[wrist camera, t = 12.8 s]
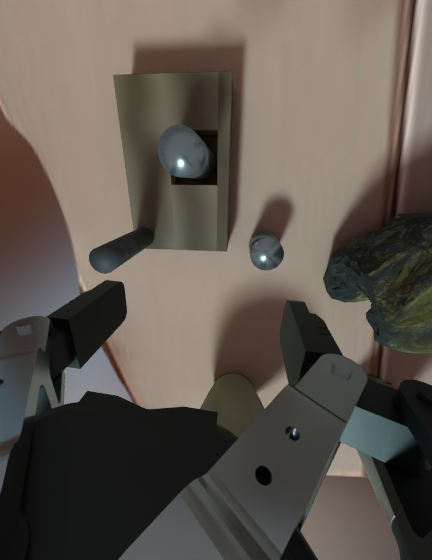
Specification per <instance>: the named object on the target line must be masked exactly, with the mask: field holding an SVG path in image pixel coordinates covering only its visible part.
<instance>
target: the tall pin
mask: <svg viewBox="0 0 432 560" xmlns="http://www.w3.org/2000/svg"><path fill="white" fill-rule="evenodd" d="M158 157H159V160H160V162H161V164H162V166H163V168H164V169H165V170H166V171H167V172H168V173H170V174H171V175H173V176H176V177H184V178H196V179H202V178H205V177H207V176H208V175H209V174H210V173H211V172H212V170H213V168H214V163H215V160H214V155H213V153H212V151H211V150H210V148H209V147H208V146H207V145H206V144H205V143H204V142H203V140H202V139H201V138H200V137H199V136H198V135H197V134H196V133H195V132H194V131H193V130H192V129H191V128H189V127H187V126H184V125H174V126H171V127H169V128H168V129H166V130H165V131H164V132H163V134H162V135H161V137H160V139H159V143H158Z"/></svg>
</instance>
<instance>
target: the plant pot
mask: <svg viewBox="0 0 432 560" xmlns="http://www.w3.org/2000/svg"><path fill="white" fill-rule="evenodd" d="M200 409H202V410H208V411H214V412H218V418H217V424H218V425H220V426H222V427H224V428H226V429H227V430H229V431H231V432H232V433H233V434H234V435H236V436H237V437H238V438H239V437H240V436H241V435H242V434H243V433H244V432H245V430H246V429H247V428H248V427H249V426H250V425H251V424H252V423H253V422H254V420H255V419H256V418H257V417H258V416H259V415H260V414H261V413H262V412H263V410H264V407H263V405H262V403H261V401H260V399H259V396H258V395H257V393H256V391H255V389H254V387H253V385H252V384H251V382H250V381H249V380H248V379H247V378H246V377H244V376H242V375H239V374H225V375H223V376H221V377H219V378H218V379H217V380H216V382H215V383H214V385H213V386H212V388H211V390H210V391H209V393H208V395H207V397H206V398H205V400H204V402H203V404H202V406H201V408H200Z"/></svg>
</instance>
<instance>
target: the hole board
mask: <svg viewBox="0 0 432 560" xmlns="http://www.w3.org/2000/svg"><path fill="white" fill-rule="evenodd" d="M113 78H114V85H115V93H116V100H117V108H118V116H119V123H120V131H121V138H122V146H123V153H124V161H125V168H126V176H127V183H128V191H129V198H130V206H131V214H132V221H133V229H134V231H132V232H130V233H128V234H126V235H123V236H121V237H119V238H117V239H115V240H113V241H110V242H108V243H106V244H104V245H102V246H99V247H97V248H95V249H93V250H92V251H91V252H90V255H89V261H90V264H91V266H92V267H93V268H94V269H95V270H96V271H98V272H100V273H104V274H106V273H110V272H112V271H113V270H114V269H116V268H117V267H119V266H120V265H122V264H123V263H125V262H126V261H127V260H129V259H130V258H132V257H133V256H135V255H136V254H137V253H139V252H140V251H142V250H143V249H145V248H146V249H173V250H201V251H227V247H228V231H229V199H230V167H231V135H232V104H233V80H232V71H225V72H192V73H159V74H125V75H113ZM174 125H184V126H187V127H189V128H191V129H192V130H193V131H194V132H195V133H196V134H197V135H198V136H199V137H218V162H217V185H182V184H179V177H176V176H173V175H171V174H170V173H168V172H167V171H166V170H165V169H164V168H163V166H162V164H161V162H160V160H159V157H158V143H159V139H160V137H161V135H162V134H163V132H164V131H165V130H166V129H168V128H169V127H171V126H174Z"/></svg>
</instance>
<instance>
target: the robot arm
mask: <svg viewBox="0 0 432 560" xmlns="http://www.w3.org/2000/svg"><path fill="white" fill-rule="evenodd" d="M126 314H127V306H126V297H125V288H124V284H123V283H122V282H118V281H109V280H106V281H104V282H102V283H101V284H99V285H98V286H96V287H95V288H93V289H92V290H89V291H86V292H84V293H82V294H81V295H79V296H78V297H76V299H73V300H72V301H70V302H69V304H68V303H67V304H65V305H64V306H63V307H61V308H59V309H58V310H56V311H55V312H53V313H52V314H50V315H49V316H47V317H44V316H32V317H27V318H23V319H20V320H17V321H14V322H13V323H10V324H9V325H7V326H6V327H5V328H4V329H3V330H2V331H0V560H318V559H317V557H316V556H315V554H314V553H313V551H312V549H311V548H310V546H309V544H308V543H307V541H306V540H305V538H304V536H303V535H302V533H301V528H302V526H303V524H304V522H305V520H306V518H307V515H308V513H309V511H310V509H311V506H312V504H313V502H314V500H315V498H316V495H317V493H318V491H319V489H320V487H321V484H322V482H323V480H324V478H325V476H326V474H327V472H328V469H329V467H330V465H331V463H332V461H333V459H334V457H335V455H336V452H337V450H338V448H339V446H340V444H341V442H342V443H344V444H346V445H348V446H350V447H352V448H355V449H357V452H358V454H359V456H360V459H361V461H362V463H363V465H364V468H365V470H366V472H367V475H368V477H369V479H370V481H371V484H372V486H373V488H374V491H375V493H376V495H377V497H378V500H379V502H380V504H381V506H382V509H383V511H384V513H385V515H386V518H387V520H388V522H389V525H390V527H391V529H392V532H393V534H394V536H395V539H396V541H397V544H398V547H399V551H400V558H401V560H432V385H429V384H427V383H424V382H421V381H417V380H405V381H402V382H401V384H400V386H399V388H398V390H397V389H396V388H395V387H394V385H393V384H387V383H385V382H384V381H383V380H381V379H379V378H377V377H373V376H367V375H366V373H365V371H364V370H363V369H362V367H360V366H359V365H358V364H357V363H356V362H354V361H353V360H351V359H349V358H347V357H344V356H343V355H342V353H341V351H340V349H339V347H338V346H337V344H336V342H335V340H334V338H333V337H332V336H331V333H330V331H329V330H328V328H327V326H326V324H325V322H324V321H323V320H322V319H321V318H320V317H319V316H317V315H316V314H312V313H309V311H308V309H307V307H306V304H305V303H304V302H299V301H290V300H287V302H286V305H285V309H284V314H283V319H282V324H281V330H280V343H281V348H282V353H283V358H284V363H285V368H286V373H287V378H288V383H289V384H288V385H286V386H285V387H284V388H283V389H282V391H281V392H280V393H279V394H278V395H277V396H276V397H275V398H274V399H273V401H272V402H271V403H270V404H269V405H268V406H267V407H266V408H265V409H264V410H263V412H262V413H261V414H260V415H259V416H258V417H257V418H256V419H255V420H254V422H253V423H252V424H251V425H250V426H249V427H248V428H247V429H246V430H245V432H244V433H243V434H242V435H241V436H240V437H239V438H238V437H237V436H236V435H234V434H233V433H232V432H231V431H229V430H227V429H226V428H224V427H222V426H220V425H218V424H217V418H218V412H214V411H208V410H202V409H195V408H189V407H175V408H162V409H145V408H142V407H140V406H138V405H136V404H134V403H132V402H130V401H127V400H125V399H123V398H121V397H119V396H115V395H109V394H102V393H96V392H90V391H87V392H86V393H85V395H84V396H83V397H82V398H81V400H80V401H79V402H77V403H70V404H65V405H64V389H65V388H64V387H65V374H64V369H65V368H66V367H72V368H78V369H81V367H82V366H83V365H84V364H85V363H86V362H87V361H88V360H89V359H90V357H92V355H93V354H94V353H95V352H96V351H97V350H98V349H99V348H100V347H101V346H102V344H103V343H104V342H105V341H106V340H107V339H108V338H109V337H110V336H111V335H112V334H113V332H114V331H115V330H116V329H117V328H118V327H119V326H120V325H121V324H122V323H123V321H124V320H125V318H126Z"/></svg>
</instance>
